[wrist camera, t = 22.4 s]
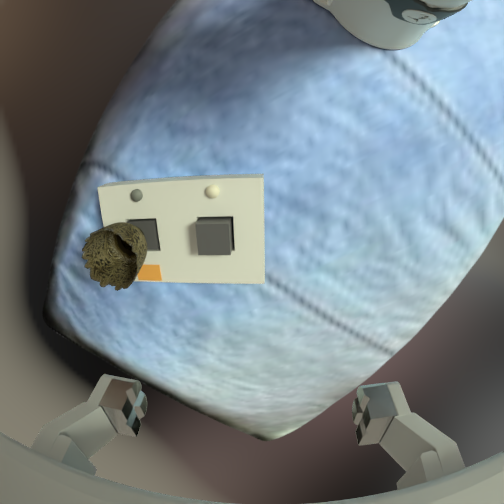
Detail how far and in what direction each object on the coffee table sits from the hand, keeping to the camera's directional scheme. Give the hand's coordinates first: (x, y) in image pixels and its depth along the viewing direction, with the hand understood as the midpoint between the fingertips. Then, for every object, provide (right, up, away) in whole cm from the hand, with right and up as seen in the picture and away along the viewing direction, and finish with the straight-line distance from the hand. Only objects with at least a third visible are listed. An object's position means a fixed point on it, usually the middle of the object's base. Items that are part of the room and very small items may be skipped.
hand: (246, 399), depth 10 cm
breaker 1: (-14, +9, +31) cm, 35 cm away
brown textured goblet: (-15, +7, +28) cm, 33 cm away
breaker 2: (-4, +8, +29) cm, 30 cm away
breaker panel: (-9, +9, +31) cm, 33 cm away
